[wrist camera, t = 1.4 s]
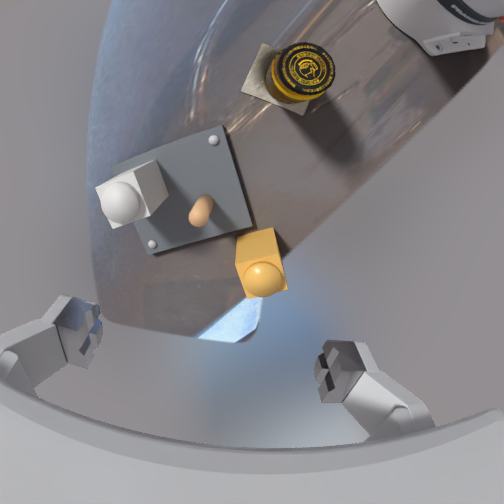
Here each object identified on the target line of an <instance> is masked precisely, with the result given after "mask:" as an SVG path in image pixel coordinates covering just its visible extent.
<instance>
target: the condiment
mask: <svg viewBox="0 0 504 504" xmlns="http://www.w3.org/2000/svg"><path fill="white" fill-rule="evenodd" d="M334 78H335V65H334V62H333V60H332V57H331V56H330V55H329V54H328V53H327V52H326V51H325V50H324V49H323V48H322V47H320V46H317V45H315V44H312V43H307V42H303V43H295V44H293V45H290V46H288V47H287V48H285V49H283V50H279V49H277V48H274V47H272V46H269V45H266V44H263V43H262V45H261V47H260V49H259V51H258V54H257V56H256V58H255V60H254V63H253V65H252V67H251V69H250V72H249V74H248V76H247V78H246V81H245V83H244V85H243V88H242V90H241V92H244V93H247V94H250V95H252V96H255V97H258V98H261V99H263V100H266V101H268V102H271V103H273V104H276V105H278V106H281V107H283V108H286V109H288V110H290V111H293V112H295V113H297V114H300V115H302V116H303V115H304V113H305V111H306V109H307V106H308V104H309V101H310V100H313V99H315V98H317V97H319V96H321V95H322V94H323V93H324V92H325V91H326V90H327V89H328V88H329V87H330V86H331V85H332V83H333V81H334ZM261 81H263V83H262V82H261ZM263 84H265V86H264V85H263Z"/></svg>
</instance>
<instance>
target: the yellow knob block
mask: <svg viewBox="0 0 504 504" xmlns="http://www.w3.org/2000/svg"><path fill="white" fill-rule="evenodd" d="M235 265H236V268H237V271H238V274H239V277H240V279H241V282H242V285H243V288H244V291H245V293H246V296H247V299H250V298H255V297H268V296H271V295H273V294H274V293H276V292H279V291H283V290H287V289H288V287H287V282H286V277H285V273H284V268H283V264H282V259H281V255H280V251H279V247H278V244H277V240H276V236H275V232H274V229H273V227H272V228H268V229H264V230H260V231H256V232H253V233H249V234H245V235H241V236H237V247H236V260H235Z"/></svg>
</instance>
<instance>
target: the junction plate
mask: <svg viewBox="0 0 504 504" xmlns="http://www.w3.org/2000/svg"><path fill="white" fill-rule="evenodd" d="M112 170H113V173H114V175H115V177H114V178H112V179H110V180H108V181H107V182H105V183H103V184H101V185H100V186H98V187H96V191H97V193H98V196H99V198H100V201H101V207H102V210H103V212H104V214H105V215H106V217H107V218H108V220H109V222H110V224H111V226H112V229H114V228H117V227H120V226H122V225H125V224H128V223H131V222H133V223H134V225H135V227H136V230H137V232H138V234H139V237H140V239H141V241H142V243H143V245H144V248H145V250H146V252H147V254H148V255H150V254H154V253H157V252H160V251H164V250H167V249H171V248H174V247H178V246H182V245H185V244H189V243H192V242H196V241H199V240H203V239H207V238H210V237H214V236H218V235H221V234H225V233H229V232H232V231H236V230H240V229H244V228H247V227H251V226H253V224H252V220H251V216H250V213H249V210H248V206H247V203H246V200H245V197H244V193H243V190H242V187H241V183H240V180H239V177H238V173H237V170H236V167H235V164H234V160H233V157H232V154H231V151H230V147H229V144H228V141H227V138H226V134H225V131H224V128H223V125H221V126H218V127H214V128H211V129H208V130H205V131H202V132H199V133H196V134H193V135H190V136H187V137H184V138H181V139H179V140H176V141H173V142H170V143H168V144H165V145H163V146H160V147H157V148H155V149H152V150H150V151H147V152H145V153H142V154H140V155H138V156H135V157H133V158H131V159H128V160H126V161H124V162H121V163H119V164H117V165H115V166H113V167H112Z"/></svg>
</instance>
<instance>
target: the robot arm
mask: <svg viewBox="0 0 504 504" xmlns="http://www.w3.org/2000/svg"><path fill="white" fill-rule="evenodd" d="M377 2H378V4H379V6H380V8H381V9H382V11H383V12H384V13H385V15H386V16H387V17H388V18H389V19H390V20H391V22H392V23H393V24H394V25H396V26H397V27H398V28H399V29H400V30H402V31H403V32H404V33H406V34H407V35H409V36H410V37H412V38H413V39H415V40H416V41H417V42H418V43H419V44H420V45H421V47H422V48H423V49H424V50H425V51H426V52H427V53H428V54H429V55H430V56H437V55H443V54H448V53H454V52H460V51H467V50H474V49H481V48H484V47H485V42H486V39H485V35H490V34H492V33H493V31H494V23H493V21H494V20H496V19H498V17H499V20H500V21H501V22H504V0H377ZM436 46H437V48H438V49H437V48H436ZM100 313H101V312H100V306H99V305H98V304H97V303H93V302H89V301H86V300H83V299H79V298H76V297H72V296H68V295H65V294H62V295H60V296H59V297H58V299H57V300H56V301H55V302H54V303H53V305H52V306H51V307H50V309H49V310H48V311H47V312H46V314H45V315H44V316H43V318H42V319H41V320H40V319H36V320H33V321H31V322H29V323H26V324H24V325H22V326H20V327H18V328H15V329H13V330H10V331H8V332H6V333H3V334H1V335H0V504H504V413H503V412H502V411H500V410H498V409H497V408H489V409H486V410H484V411H481V412H479V413H476V414H473V415H471V416H468V417H465V418H462V419H459V420H456V421H453V422H450V423H447V424H444V425H440V426H437V427H436V426H435V424H434V421H433V420H432V417H431V415H430V413H429V411H428V409H427V407H426V405H425V403H423V402H422V401H421V400H420V399H418V398H417V397H416V396H414V395H413V394H412V393H410V392H409V391H408V390H406V389H405V388H404V387H403V386H401V385H400V384H399V383H397V382H396V381H394V380H393V379H392V378H391V377H389V376H388V375H387V374H386V373H384V372H383V371H379V369H378V367H377V365H376V363H375V361H374V359H373V357H372V355H371V353H370V351H369V348H368V346H367V344H366V343H365V342H364V341H338V340H327V341H326V342H325V344H324V345H323V347H322V348H323V351H324V353H322V354H320V355H319V356H318V358H317V360H316V362H315V367H314V375H315V379H316V381H318V382H319V383H320V384H321V385H320V387H319V388H318V390H319V394H320V398H321V402H322V403H342V405H343V406H344V407H345V408H346V409H347V410H348V411H349V412H350V414H351V415H352V416H353V417H354V418H355V419H356V420H357V421H358V422H359V424H360V425H361V426H362V427H363V428H364V429H365V430H366V431H367V432H368V433H369V435H370V436H369V437H368V438H367V439H366V440H365V441H364V442H361V443H355V444H346V445H336V446H326V447H325V446H324V447H310V448H309V447H308V448H249V447H233V446H222V445H212V444H204V443H196V442H189V441H182V440H176V439H171V438H165V437H160V436H155V435H151V434H146V433H142V432H138V431H133V430H130V429H125V428H122V427H118V426H115V425H111V424H108V423H105V422H101V421H98V420H95V419H92V418H89V417H86V416H83V415H80V414H78V413H75V412H72V411H70V410H67V409H64V408H62V407H59V406H57V405H54V404H52V403H50V402H47V401H45V400H43V399H41V398H39V397H38V395H37V393H36V392H35V390H34V387H36V386H37V385H38V384H40V383H41V382H43V381H44V380H45V379H47V378H48V377H50V376H51V375H53V374H54V373H55V372H57V371H58V370H60V369H61V368H63V367H64V366H65V365H67V363H69V364H73V365H76V366H79V367H83V368H86V369H87V368H88V367H89V364H90V363H91V361H92V359H93V357H94V354H93V350H94V349H96V348H98V346H99V344H100V342H101V338H102V334H103V327H102V322H101V321H100V320H99V318H98V317H99V315H100Z"/></svg>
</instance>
